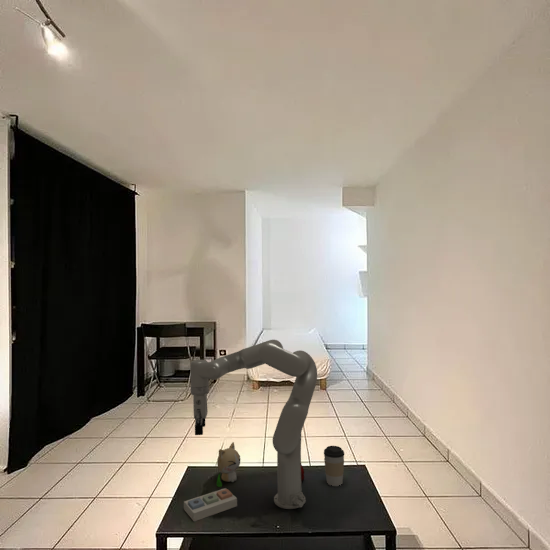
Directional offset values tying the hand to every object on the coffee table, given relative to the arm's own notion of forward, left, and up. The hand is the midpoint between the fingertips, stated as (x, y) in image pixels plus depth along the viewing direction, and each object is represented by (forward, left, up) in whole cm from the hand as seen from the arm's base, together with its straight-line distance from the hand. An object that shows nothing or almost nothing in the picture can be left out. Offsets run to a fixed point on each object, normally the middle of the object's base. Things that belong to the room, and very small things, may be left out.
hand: (200, 430), depth 169 cm
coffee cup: (-26, -51, -26) cm, 63 cm away
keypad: (-13, +2, -26) cm, 29 cm away
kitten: (+3, -14, -26) cm, 30 cm away
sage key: (-13, +2, -24) cm, 27 cm away
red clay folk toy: (-15, -38, -26) cm, 49 cm away
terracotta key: (-13, -4, -24) cm, 28 cm away
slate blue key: (-13, +8, -24) cm, 28 cm away
